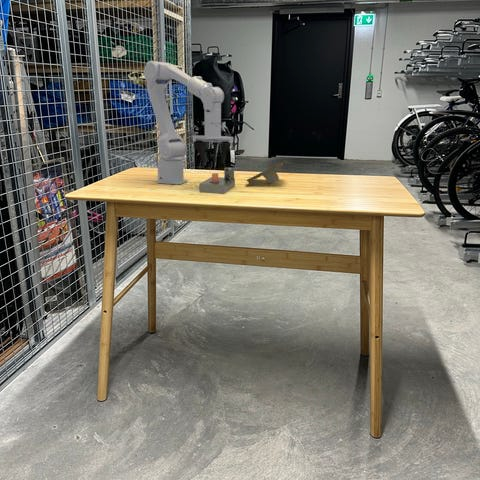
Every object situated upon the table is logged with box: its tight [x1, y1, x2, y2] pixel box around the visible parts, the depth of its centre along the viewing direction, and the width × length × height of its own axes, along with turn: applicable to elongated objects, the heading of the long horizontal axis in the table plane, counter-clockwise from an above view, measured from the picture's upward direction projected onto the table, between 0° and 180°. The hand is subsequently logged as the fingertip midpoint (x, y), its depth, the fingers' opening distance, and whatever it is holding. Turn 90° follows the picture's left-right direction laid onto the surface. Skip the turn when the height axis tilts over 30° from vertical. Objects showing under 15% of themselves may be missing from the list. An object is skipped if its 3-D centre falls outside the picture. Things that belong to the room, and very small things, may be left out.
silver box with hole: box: [198, 167, 236, 195], centre depth 152 cm, size 9×14×7 cm, turn 165°
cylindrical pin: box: [211, 173, 219, 183], centre depth 149 cm, size 2×2×6 cm
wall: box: [244, 162, 284, 184], centre depth 163 cm, size 16×9×15 cm
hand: (213, 162), depth 152 cm, fingers open, 7 cm apart
